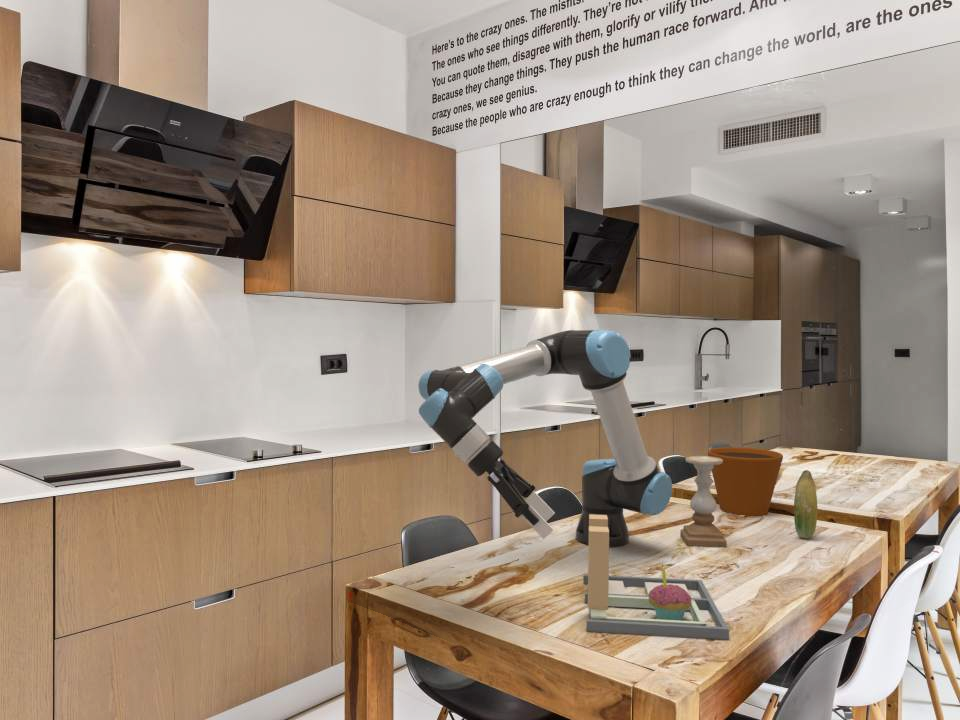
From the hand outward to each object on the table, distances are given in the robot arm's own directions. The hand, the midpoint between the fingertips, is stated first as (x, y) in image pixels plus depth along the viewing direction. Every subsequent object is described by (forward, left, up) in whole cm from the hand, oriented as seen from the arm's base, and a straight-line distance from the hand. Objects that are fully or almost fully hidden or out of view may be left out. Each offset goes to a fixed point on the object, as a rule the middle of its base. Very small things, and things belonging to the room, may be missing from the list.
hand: (549, 525), depth 146 cm
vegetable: (+45, +88, -19) cm, 101 cm away
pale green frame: (+18, +7, -18) cm, 27 cm away
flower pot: (+25, +115, -19) cm, 119 cm away
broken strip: (+14, +20, -18) cm, 30 cm away
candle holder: (+19, +71, -19) cm, 76 cm away
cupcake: (+23, +9, -19) cm, 31 cm away
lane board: (+17, +13, -19) cm, 28 cm away
